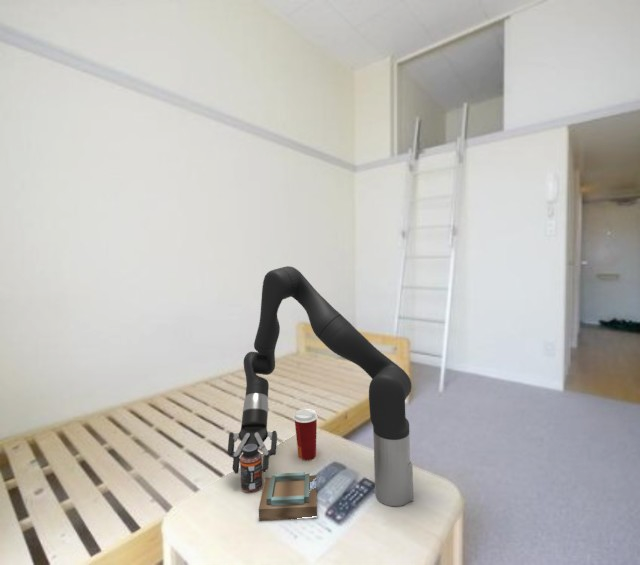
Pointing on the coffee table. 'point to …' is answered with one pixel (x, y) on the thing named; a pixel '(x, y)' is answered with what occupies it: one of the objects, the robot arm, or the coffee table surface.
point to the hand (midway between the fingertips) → (250, 472)
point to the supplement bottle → (251, 468)
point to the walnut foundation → (288, 497)
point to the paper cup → (306, 433)
